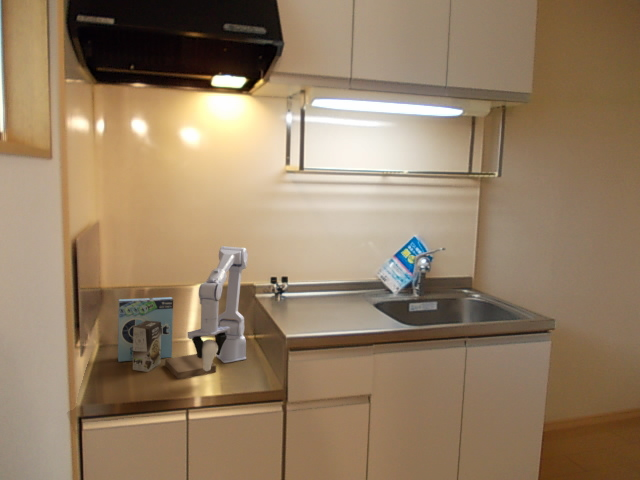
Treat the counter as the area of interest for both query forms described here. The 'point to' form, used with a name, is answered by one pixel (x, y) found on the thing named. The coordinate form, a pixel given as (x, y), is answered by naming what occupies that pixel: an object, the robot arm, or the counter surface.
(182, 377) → the walnut base
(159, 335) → the coffee box
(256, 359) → the counter surface
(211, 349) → the lightbulb
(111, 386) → the counter surface
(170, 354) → the light blue product box
